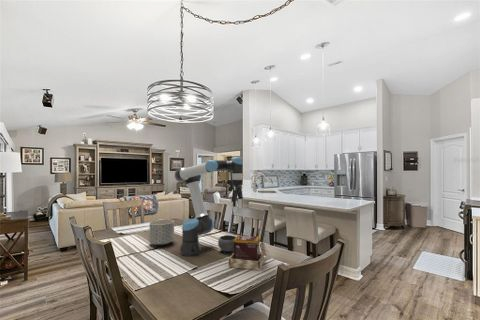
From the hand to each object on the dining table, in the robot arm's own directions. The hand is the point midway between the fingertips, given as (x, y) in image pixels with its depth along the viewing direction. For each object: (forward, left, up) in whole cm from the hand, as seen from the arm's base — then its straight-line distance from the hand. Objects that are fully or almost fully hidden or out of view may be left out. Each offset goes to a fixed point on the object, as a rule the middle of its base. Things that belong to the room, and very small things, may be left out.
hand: (237, 209), depth 170 cm
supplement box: (+9, -10, -32) cm, 35 cm away
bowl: (-10, +10, -33) cm, 36 cm away
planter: (-67, +11, -33) cm, 75 cm away
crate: (+9, -10, -33) cm, 35 cm away
